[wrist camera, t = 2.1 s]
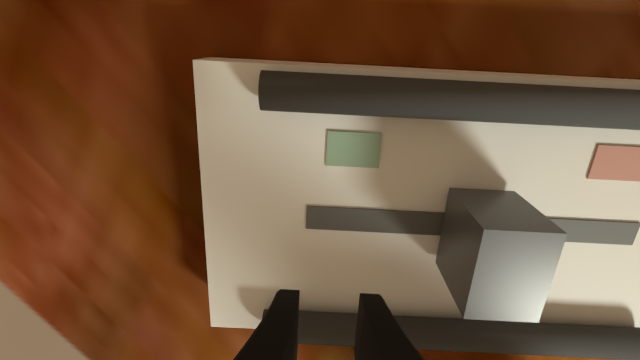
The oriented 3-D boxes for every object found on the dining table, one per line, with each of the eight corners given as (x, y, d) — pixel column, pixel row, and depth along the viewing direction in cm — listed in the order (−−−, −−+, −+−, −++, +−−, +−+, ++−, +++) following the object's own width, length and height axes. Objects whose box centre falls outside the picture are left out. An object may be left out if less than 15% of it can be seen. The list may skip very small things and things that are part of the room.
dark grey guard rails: (628, 343, 21) (651, 367, 19) (265, 326, 20) (260, 348, 19) (738, 93, 16) (782, 99, 14) (264, 68, 16) (257, 71, 14)
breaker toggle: (495, 265, 18) (538, 322, 15) (435, 262, 18) (463, 319, 15) (514, 191, 17) (567, 233, 13) (449, 187, 17) (484, 229, 13)
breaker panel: (644, 317, 23) (682, 350, 21) (222, 296, 23) (210, 327, 20) (748, 85, 18) (814, 92, 16) (209, 56, 18) (191, 59, 15)
